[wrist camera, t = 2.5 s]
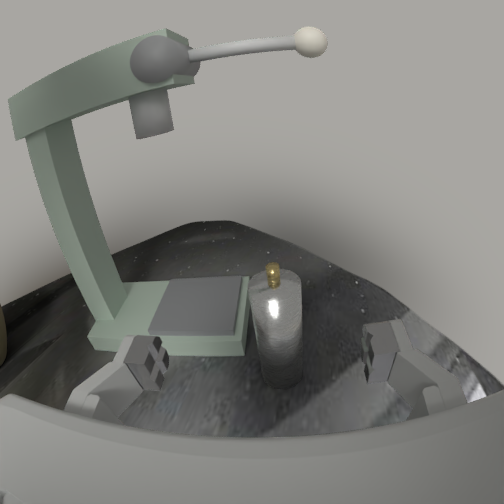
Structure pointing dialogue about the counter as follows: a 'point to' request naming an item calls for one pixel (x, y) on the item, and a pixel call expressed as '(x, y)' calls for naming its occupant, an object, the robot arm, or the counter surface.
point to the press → (80, 202)
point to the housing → (278, 324)
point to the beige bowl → (2, 338)
